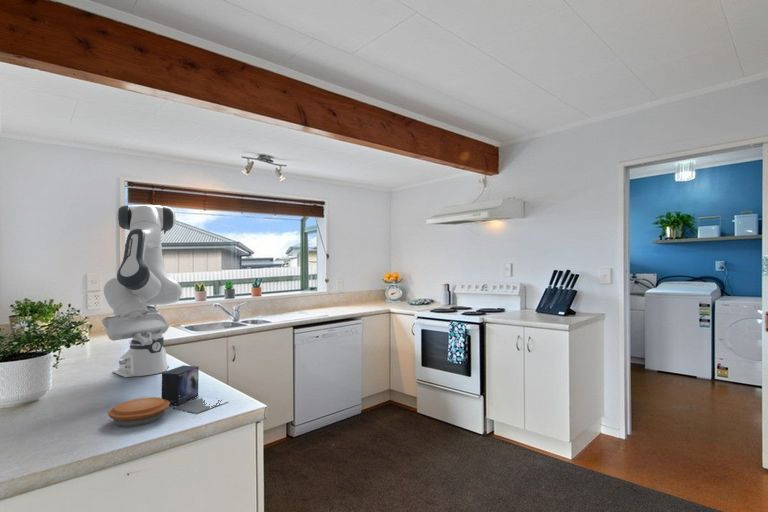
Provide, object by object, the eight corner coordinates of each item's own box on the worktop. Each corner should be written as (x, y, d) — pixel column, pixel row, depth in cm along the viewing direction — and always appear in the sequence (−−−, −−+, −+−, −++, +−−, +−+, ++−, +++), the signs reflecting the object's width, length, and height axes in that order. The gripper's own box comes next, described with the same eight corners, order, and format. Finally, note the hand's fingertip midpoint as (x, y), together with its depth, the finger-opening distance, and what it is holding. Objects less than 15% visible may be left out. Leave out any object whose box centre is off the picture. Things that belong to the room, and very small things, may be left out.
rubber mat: (172, 408, 127) (172, 407, 127) (205, 397, 138) (205, 396, 138) (196, 414, 122) (196, 413, 122) (228, 402, 133) (228, 401, 133)
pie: (100, 421, 117) (100, 403, 118) (158, 407, 129) (158, 391, 129) (117, 435, 107) (117, 416, 107) (178, 418, 119) (178, 401, 119)
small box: (178, 407, 128) (178, 373, 129) (160, 406, 130) (160, 372, 130) (199, 396, 139) (199, 365, 139) (182, 395, 140) (182, 364, 140)
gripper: (104, 311, 137) (121, 342, 132) (161, 306, 155) (178, 333, 150) (96, 324, 139) (112, 355, 134) (153, 318, 157) (170, 345, 152)
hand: (147, 343), depth 142 cm, fingers closed
